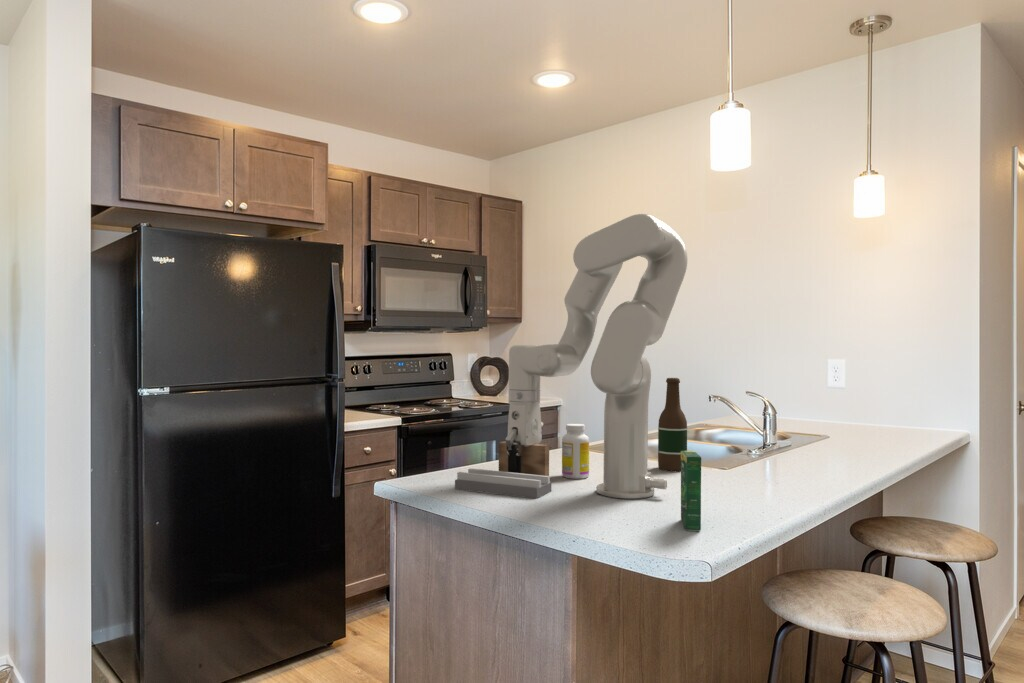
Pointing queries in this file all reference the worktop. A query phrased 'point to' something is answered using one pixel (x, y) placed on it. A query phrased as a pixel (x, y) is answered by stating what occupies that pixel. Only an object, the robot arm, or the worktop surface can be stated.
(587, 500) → the worktop surface
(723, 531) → the worktop surface
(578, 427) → the supplement bottle
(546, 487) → the rail
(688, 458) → the coffee box
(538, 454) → the door panel
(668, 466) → the beer bottle
